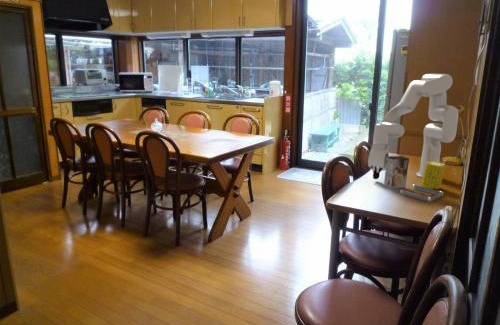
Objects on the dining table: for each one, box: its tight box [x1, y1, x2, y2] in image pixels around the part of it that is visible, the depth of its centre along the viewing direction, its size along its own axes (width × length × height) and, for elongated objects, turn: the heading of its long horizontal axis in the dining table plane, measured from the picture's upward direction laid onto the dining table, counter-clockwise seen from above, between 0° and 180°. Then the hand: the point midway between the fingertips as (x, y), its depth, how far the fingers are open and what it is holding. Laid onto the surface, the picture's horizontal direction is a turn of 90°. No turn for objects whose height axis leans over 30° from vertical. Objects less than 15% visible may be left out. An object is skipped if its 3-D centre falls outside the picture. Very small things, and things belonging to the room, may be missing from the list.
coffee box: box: [383, 155, 410, 189], centre depth 196 cm, size 9×6×16 cm
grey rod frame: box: [399, 184, 444, 203], centre depth 185 cm, size 15×15×2 cm
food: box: [420, 161, 446, 190], centre depth 196 cm, size 15×12×10 cm
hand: (375, 178), depth 205 cm, fingers closed
